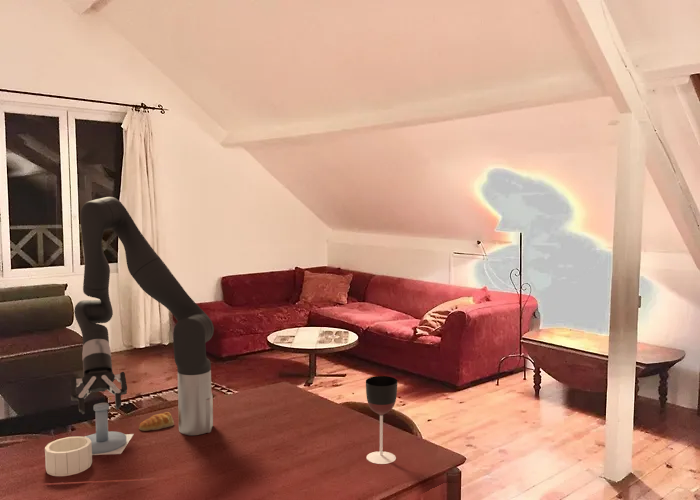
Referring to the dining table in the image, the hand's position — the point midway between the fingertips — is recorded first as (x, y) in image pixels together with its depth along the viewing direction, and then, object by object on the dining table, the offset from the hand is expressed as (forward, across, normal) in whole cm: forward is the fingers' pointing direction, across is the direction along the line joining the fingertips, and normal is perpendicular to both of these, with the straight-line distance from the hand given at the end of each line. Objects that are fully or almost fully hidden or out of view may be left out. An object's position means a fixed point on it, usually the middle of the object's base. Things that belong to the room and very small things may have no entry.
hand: (100, 410), depth 160 cm
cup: (+16, -8, -3) cm, 18 cm away
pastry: (+3, +16, +10) cm, 19 cm away
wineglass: (+36, +64, -23) cm, 77 cm away
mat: (+8, 0, +4) cm, 9 cm away
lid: (+8, 0, +4) cm, 9 cm away
